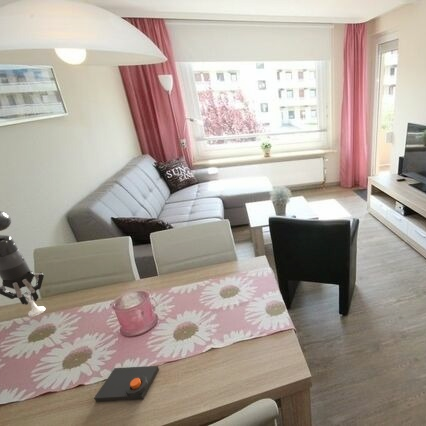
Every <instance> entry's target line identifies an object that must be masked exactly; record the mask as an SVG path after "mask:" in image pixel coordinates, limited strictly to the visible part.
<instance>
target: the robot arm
mask: <svg viewBox="0 0 426 426" xmlns="http://www.w3.org/2000/svg"><path fill="white" fill-rule="evenodd" d="M11 224H12V219H11V216H10V215H9V214H8V213H6V212H4V211H2V210H0V232H2V231H5V230H7V229H8V228H9V227H10V226H11ZM44 277H45V276H44V272H38V273H37V272H34V271H32V270H31V269H30V267H29V264H28V263H27V261H26V259H25V257H24V256H23V254H22V252H21V251H20V249H19V248H18V246H17V244H16V242H15V240H14V238H13V237H12V236H11V235H8V234H0V278H1V280H2V284H1V285H0V295H1V296H4V297H6V298H8V299H10V300H14V299H18V300H19V301H20V303H21V304H22V305H25V306H28V305H29V303H28V302H27V301H28V299H26V298H25V296H26V295H25V294H24V293H22V289H23V288H27V290H28V292H30V294H31V295H32V298H33V299H34V302H38V300H39V299H40V297H39V294H38V292H37V291H38V290H40V289H41V288H42V285H43V282H44V281H43V280H44ZM34 278H35V280H36V282H35V285H33V284H32V281H33V280H34ZM7 288H9V289H12V290H14V292H12V291H10V290H8V289H7Z"/></svg>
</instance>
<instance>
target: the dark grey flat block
mask: <svg viewBox="0 0 426 426" xmlns="http://www.w3.org/2000/svg"><path fill="white" fill-rule="evenodd" d="M159 371H160V368H159V365H149V366H148V365H147V366H127V367H114V368H113V369H112V371H111V372H110V375H108V377H107V379H106V380H105V381H104V382H103V384H102V385H101V387H100V389H99V390H98V392H96V394H95V395H94V401H95V403H108V402H123V401H125V402H127V401H144V399H145V397H146V395H147V393H148V392H149V390H150V388H151V386H152V385H153V382H154V380H155V378H156V377H157V375H158V372H159ZM135 378H139V379H140V381H141V385H140V387H138V388H137V389H132V388H131V386H130V382H131V381H132V380H133V379H135Z"/></svg>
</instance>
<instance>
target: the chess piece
mask: <svg viewBox="0 0 426 426" xmlns="http://www.w3.org/2000/svg"><path fill="white" fill-rule="evenodd" d="M23 294H24V296H25V298H26V300H27V302H28V304H30V308H31V310H29V311H28V313H27V314H28V317H35V316H39V315H41V314H43V313H44V312H45V311H46V307H45V306H43V305H40V306H38V305H37V304H36V303H35V300H34V299H33V297H32V295H31V292H30V291H27V290H25V291H24V292H23Z"/></svg>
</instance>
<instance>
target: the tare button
mask: <svg viewBox="0 0 426 426" xmlns="http://www.w3.org/2000/svg"><path fill="white" fill-rule="evenodd" d="M140 385H141V381H140V379H139V378H135V379H133V380H132V381H131V382H130V386H131V388H132V389H137V388H138V387H140Z"/></svg>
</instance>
